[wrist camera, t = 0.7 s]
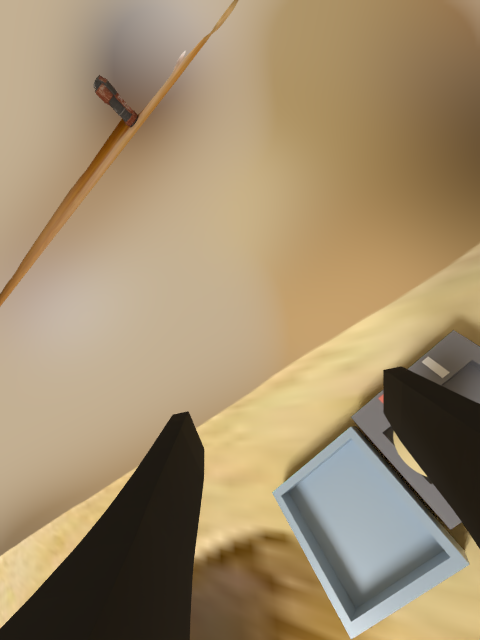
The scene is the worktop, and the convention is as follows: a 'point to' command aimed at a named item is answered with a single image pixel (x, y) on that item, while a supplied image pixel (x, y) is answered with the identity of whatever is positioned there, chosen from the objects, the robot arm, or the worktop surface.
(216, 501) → the worktop surface
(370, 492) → the parts tray
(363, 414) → the fuse block
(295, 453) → the worktop surface
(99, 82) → the grenade
